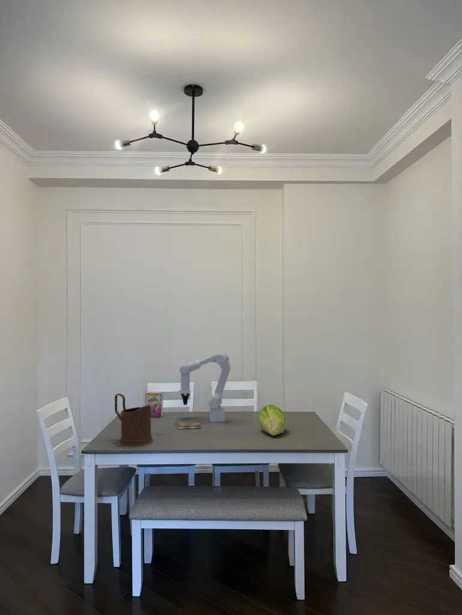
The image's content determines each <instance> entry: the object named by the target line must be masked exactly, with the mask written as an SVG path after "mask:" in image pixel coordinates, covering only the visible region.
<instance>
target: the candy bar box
mask: <svg viewBox="0 0 462 615" xmlns="http://www.w3.org/2000/svg"><path fill="white" fill-rule="evenodd" d="M163 394H164V393H163V391H146V392H145V393H144V402H145V403H144V406H146V405H151V418H162V417H164V416H163V415H164V414H163V413H164V412H163V411H164V409H163V408H164V407H163V405H164V404H163V403H164V400H163V398H164V397H163V396H164V395H163Z"/></svg>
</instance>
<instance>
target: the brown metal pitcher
mask: <svg viewBox="0 0 462 615" xmlns="http://www.w3.org/2000/svg"><path fill="white" fill-rule="evenodd" d="M118 396H119V397H121V398H122V410H121V412H119V411H118ZM114 413H115V414H116V415H117V417H118V419H119V420H120V422H121V425H120V427H121V428H120V429H121V432H120V434H121V435H120V439H119V442H118V444H119V445H120V446H123V447H143V446H147V445H150V444H152V443H153V442H154V439H153V436H152V425H151V424H152V419H151V418H152V417H151V405H146V406H145V405H143V406H138V407H137V406H135V407H131V408H126V398H125V395H124V394H122V393H116V394H114ZM142 445H143V446H142Z"/></svg>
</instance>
